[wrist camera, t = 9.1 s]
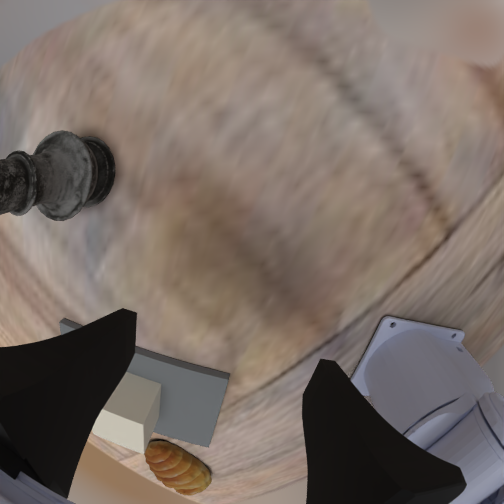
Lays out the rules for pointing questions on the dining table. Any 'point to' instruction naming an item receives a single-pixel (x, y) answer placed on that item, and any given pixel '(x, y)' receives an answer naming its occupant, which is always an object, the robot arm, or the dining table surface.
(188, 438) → the board
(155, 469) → the pastry
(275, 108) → the dining table surface
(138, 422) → the block
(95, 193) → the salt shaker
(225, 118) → the dining table surface
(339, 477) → the robot arm
